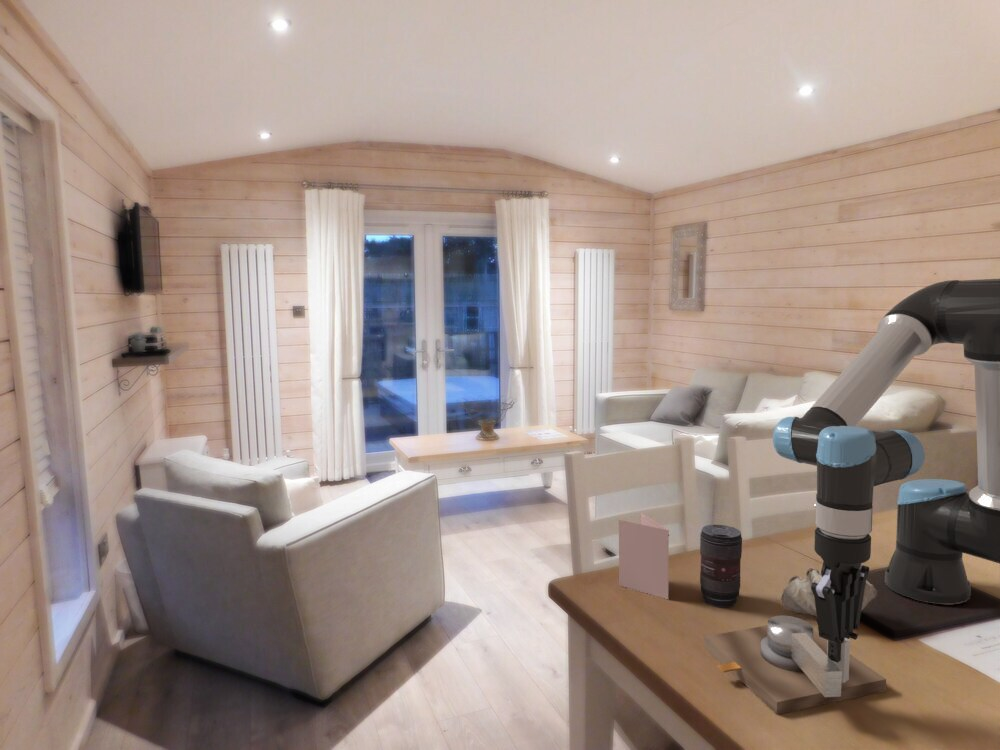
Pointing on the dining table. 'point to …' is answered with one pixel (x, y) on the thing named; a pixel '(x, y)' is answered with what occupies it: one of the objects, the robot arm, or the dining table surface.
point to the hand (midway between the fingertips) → (837, 677)
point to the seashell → (802, 597)
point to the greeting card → (644, 556)
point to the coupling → (804, 652)
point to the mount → (783, 671)
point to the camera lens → (720, 564)
